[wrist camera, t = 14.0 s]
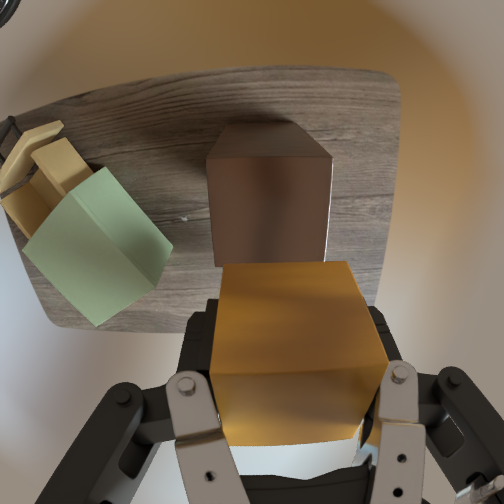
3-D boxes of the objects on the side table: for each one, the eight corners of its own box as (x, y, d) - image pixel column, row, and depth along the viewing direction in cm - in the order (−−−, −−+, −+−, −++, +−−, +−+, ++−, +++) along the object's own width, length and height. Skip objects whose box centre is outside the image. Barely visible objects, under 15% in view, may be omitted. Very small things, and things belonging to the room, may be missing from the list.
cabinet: (56, 218, 40) (21, 250, 32) (105, 165, 36) (69, 191, 28) (117, 285, 46) (95, 326, 38) (173, 246, 42) (156, 287, 34)
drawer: (3, 150, 33) (-31, 167, 26) (41, 95, 30) (5, 103, 23) (72, 238, 41) (46, 267, 34) (118, 193, 37) (93, 219, 31)
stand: (230, 187, 38) (214, 267, 23) (227, 123, 34) (205, 158, 19) (294, 186, 38) (324, 265, 23) (296, 122, 34) (333, 157, 19)
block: (231, 347, 14) (225, 446, 9) (223, 262, 11) (209, 373, 7) (331, 344, 14) (352, 439, 9) (347, 260, 11) (390, 362, 7)
